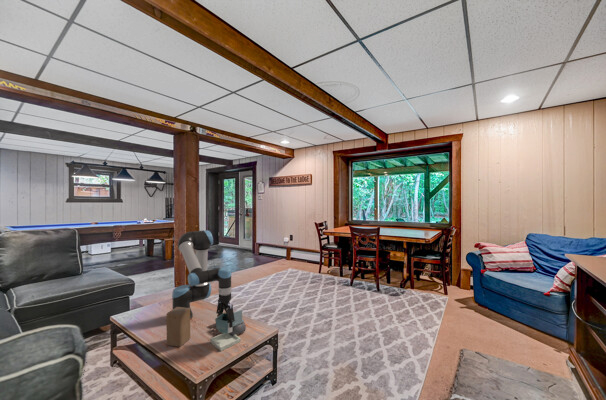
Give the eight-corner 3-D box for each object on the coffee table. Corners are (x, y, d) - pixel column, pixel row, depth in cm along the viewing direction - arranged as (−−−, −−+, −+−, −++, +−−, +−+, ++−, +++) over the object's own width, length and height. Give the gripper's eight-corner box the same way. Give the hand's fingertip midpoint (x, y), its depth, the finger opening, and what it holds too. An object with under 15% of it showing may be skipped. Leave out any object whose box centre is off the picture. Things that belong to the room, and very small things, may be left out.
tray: (210, 342, 158) (210, 338, 158) (229, 333, 168) (229, 330, 168) (220, 351, 149) (220, 347, 149) (240, 341, 159) (240, 338, 159)
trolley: (218, 327, 175) (218, 305, 175) (230, 323, 182) (230, 301, 182) (233, 338, 162) (233, 314, 162) (245, 333, 169) (245, 310, 168)
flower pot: (227, 336, 153) (227, 321, 153) (214, 333, 156) (214, 319, 155) (235, 328, 161) (235, 314, 161) (223, 326, 164) (223, 312, 164)
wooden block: (180, 347, 153) (180, 314, 152) (165, 345, 155) (165, 313, 154) (191, 338, 163) (190, 307, 162) (177, 336, 165) (176, 306, 164)
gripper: (210, 290, 163) (210, 324, 164) (229, 300, 147) (229, 338, 148) (221, 287, 169) (221, 320, 169) (240, 296, 153) (240, 333, 153)
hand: (225, 328), depth 158 cm, fingers closed on flower pot, 10 cm apart
